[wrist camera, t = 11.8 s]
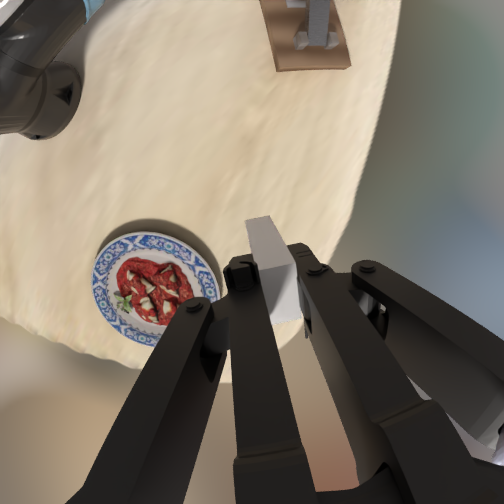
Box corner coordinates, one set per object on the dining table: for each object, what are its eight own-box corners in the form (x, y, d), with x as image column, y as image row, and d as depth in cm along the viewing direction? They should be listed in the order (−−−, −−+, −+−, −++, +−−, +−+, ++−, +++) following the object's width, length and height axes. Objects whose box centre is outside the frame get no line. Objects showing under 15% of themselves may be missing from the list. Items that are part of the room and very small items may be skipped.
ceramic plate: (217, 224, 46) (216, 230, 43) (223, 341, 56) (223, 350, 53) (83, 231, 43) (76, 236, 41) (112, 339, 54) (108, 347, 51)
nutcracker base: (344, 69, 36) (362, 60, 30) (276, 72, 36) (285, 60, 30) (321, -11, 29) (334, -27, 23) (256, -11, 29) (261, -30, 22)
